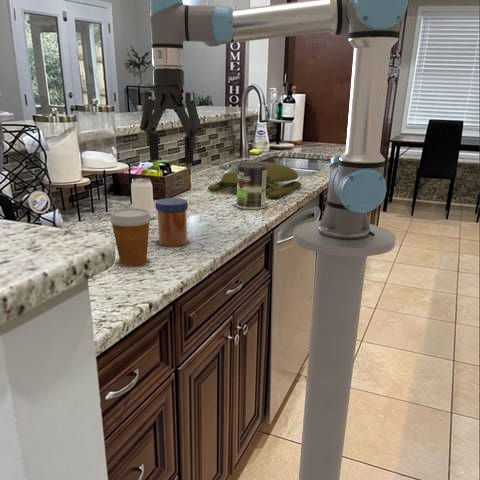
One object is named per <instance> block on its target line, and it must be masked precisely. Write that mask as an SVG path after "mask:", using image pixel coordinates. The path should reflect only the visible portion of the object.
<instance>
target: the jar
mask: <svg viewBox="0 0 480 480" xmlns="http://www.w3.org/2000/svg"><path fill="white" fill-rule="evenodd" d="M156 211H157V229H158V244H159V245H161V246H164V247H180V246H185V245H187V244H188V216H187V210H185V211H181V212H161V211H158V210H156Z"/></svg>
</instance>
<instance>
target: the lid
mask: <svg viewBox="0 0 480 480" xmlns="http://www.w3.org/2000/svg"><path fill="white" fill-rule="evenodd" d="M188 208H189V203H188V200H187V199H184V198H177V197H167V198H160V199H157V200H155V210H156V211H157V210H158V211H161V212H181V211H185V210H186V211H187V210H188Z"/></svg>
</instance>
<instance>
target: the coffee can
mask: <svg viewBox="0 0 480 480" xmlns="http://www.w3.org/2000/svg"><path fill="white" fill-rule="evenodd" d="M236 165H237V168H238V170H237V187H236V207H237V208H239V209H243V210H262V209H264V208H266V196H267V189H266V175H267V165H264V164H258V163H249V162H243V163H239V164H236Z"/></svg>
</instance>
